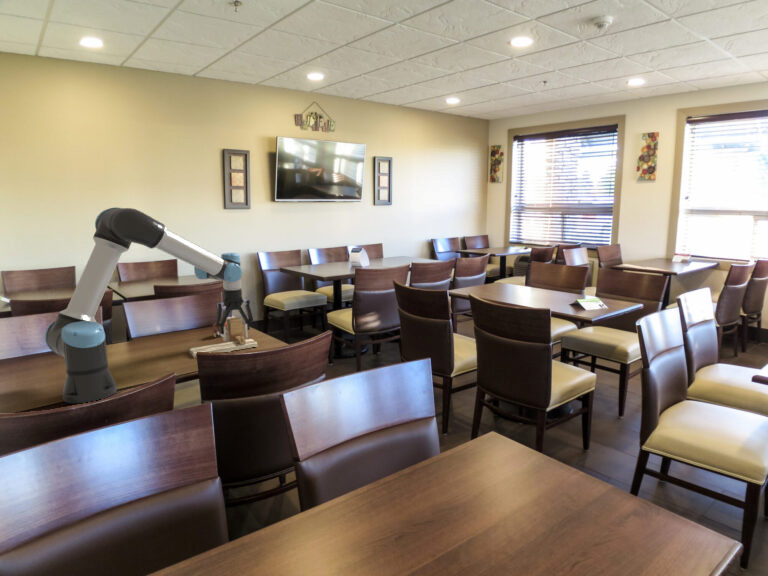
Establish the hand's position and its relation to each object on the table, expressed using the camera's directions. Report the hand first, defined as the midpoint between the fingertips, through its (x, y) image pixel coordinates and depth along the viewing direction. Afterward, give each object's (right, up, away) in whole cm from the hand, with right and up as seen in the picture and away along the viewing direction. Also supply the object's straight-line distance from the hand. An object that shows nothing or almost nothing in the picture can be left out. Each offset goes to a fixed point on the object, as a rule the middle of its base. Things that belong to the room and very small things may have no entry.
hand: (235, 339), depth 218 cm
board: (-2, -4, -10) cm, 10 cm away
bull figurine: (-9, 0, +14) cm, 17 cm away
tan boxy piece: (+2, -2, -3) cm, 4 cm away
